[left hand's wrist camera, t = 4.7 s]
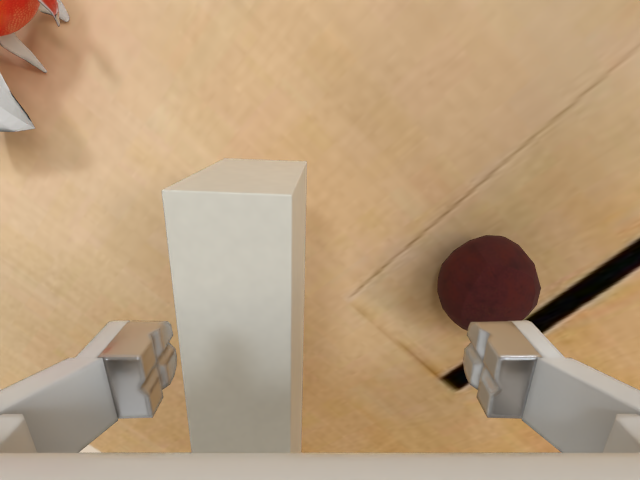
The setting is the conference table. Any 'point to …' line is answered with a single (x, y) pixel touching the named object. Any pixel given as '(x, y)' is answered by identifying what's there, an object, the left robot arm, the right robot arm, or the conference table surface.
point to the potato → (488, 282)
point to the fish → (21, 52)
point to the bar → (240, 302)
